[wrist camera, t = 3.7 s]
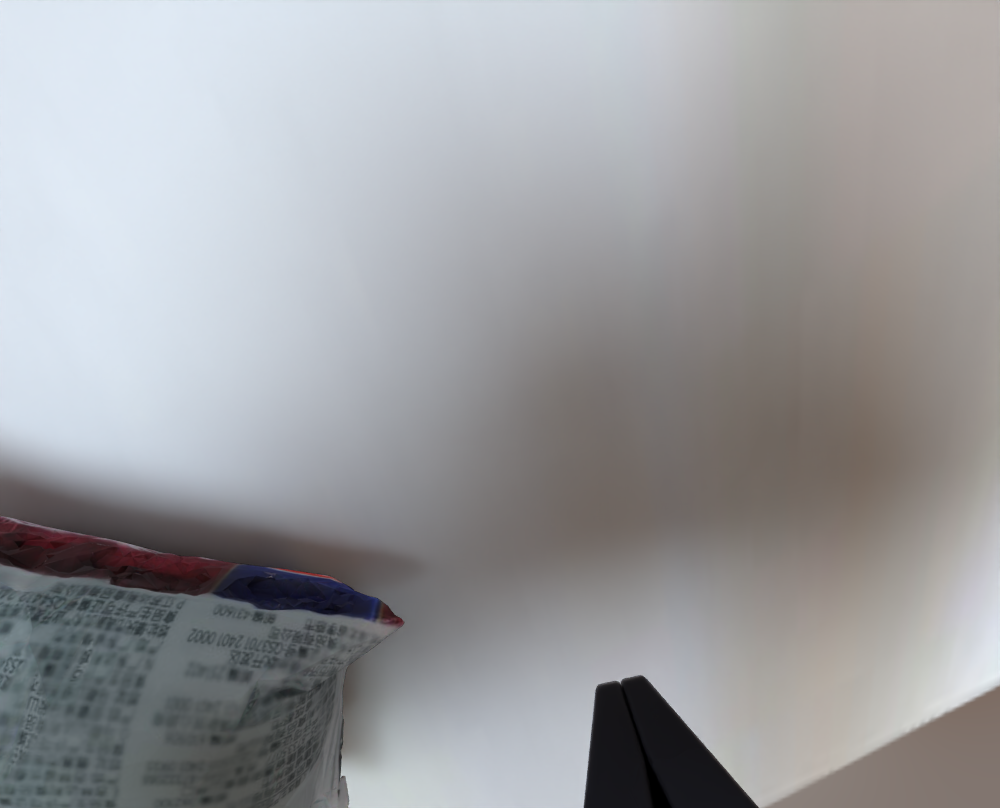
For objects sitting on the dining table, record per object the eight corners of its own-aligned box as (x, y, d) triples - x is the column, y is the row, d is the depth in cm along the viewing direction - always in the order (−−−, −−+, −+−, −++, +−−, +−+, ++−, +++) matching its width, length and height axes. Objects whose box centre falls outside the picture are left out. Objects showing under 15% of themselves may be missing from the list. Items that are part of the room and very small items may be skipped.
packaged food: (357, 772, 15) (303, 1021, 10) (-74, 713, 13) (-375, 975, 8) (420, 541, 12) (385, 734, 7) (-112, 430, 10) (-586, 587, 6)
